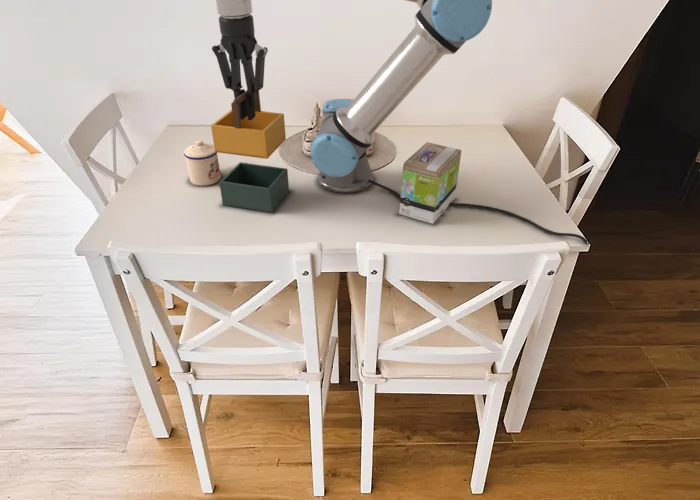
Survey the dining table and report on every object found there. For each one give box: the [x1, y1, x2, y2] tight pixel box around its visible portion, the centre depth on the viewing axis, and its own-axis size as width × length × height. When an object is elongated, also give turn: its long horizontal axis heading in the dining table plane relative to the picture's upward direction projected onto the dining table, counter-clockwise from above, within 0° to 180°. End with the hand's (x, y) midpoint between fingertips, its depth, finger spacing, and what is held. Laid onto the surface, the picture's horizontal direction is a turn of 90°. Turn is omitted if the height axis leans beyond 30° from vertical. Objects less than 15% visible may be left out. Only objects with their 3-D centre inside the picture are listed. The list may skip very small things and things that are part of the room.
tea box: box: [398, 141, 462, 225], centre depth 137 cm, size 15×10×15 cm
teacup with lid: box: [183, 139, 222, 187], centre depth 152 cm, size 12×9×12 cm
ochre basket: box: [210, 89, 287, 160], centre depth 132 cm, size 14×12×14 cm
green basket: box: [218, 161, 290, 214], centre depth 143 cm, size 14×12×7 cm
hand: (247, 117), depth 132 cm, fingers closed on ochre basket
